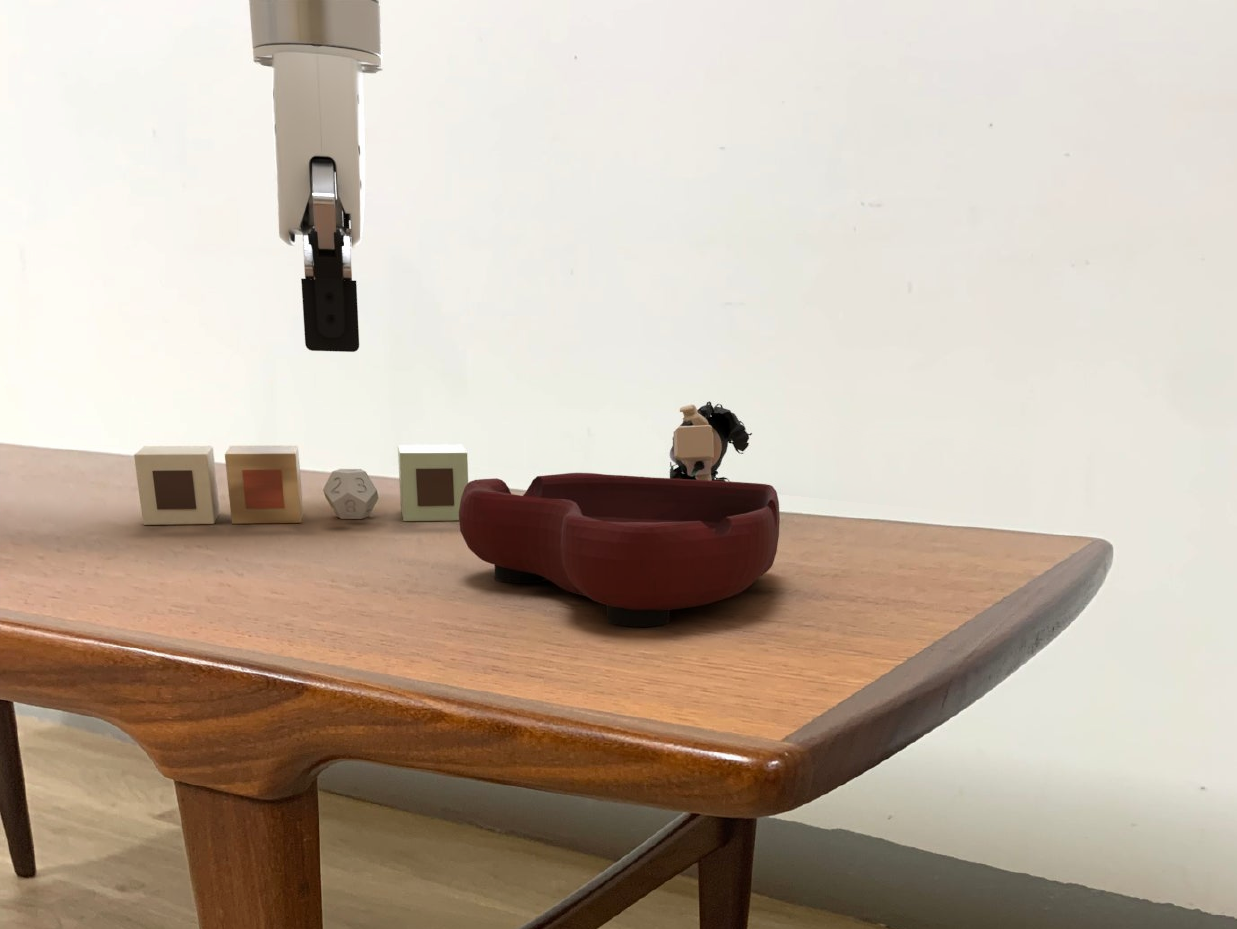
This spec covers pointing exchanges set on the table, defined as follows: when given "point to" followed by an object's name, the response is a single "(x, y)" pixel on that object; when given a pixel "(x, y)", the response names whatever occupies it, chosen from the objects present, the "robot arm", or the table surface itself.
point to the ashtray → (626, 538)
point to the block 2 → (264, 484)
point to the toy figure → (705, 441)
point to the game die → (351, 493)
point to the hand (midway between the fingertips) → (333, 347)
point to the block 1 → (177, 485)
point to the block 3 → (432, 481)
